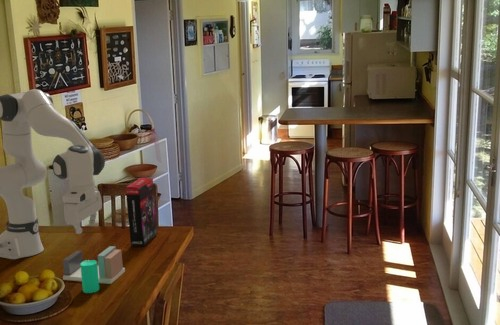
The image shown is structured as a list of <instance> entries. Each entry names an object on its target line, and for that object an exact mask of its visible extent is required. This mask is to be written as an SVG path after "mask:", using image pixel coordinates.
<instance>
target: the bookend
mask: <svg viewBox="0 0 500 325" xmlns="http://www.w3.org/2000/svg"><path fill="white" fill-rule="evenodd" d="M83 261H84V259H83V251H82V250H75V251H74V252H72V253H71V254H70V255H68V256H66V257H65V258H63V260H62V266H63V276H64V275H71V274H72V273H74V272H75V271H76V270H78V269H79V268H80V267H81V265H80V263H82V262H83Z"/></svg>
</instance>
